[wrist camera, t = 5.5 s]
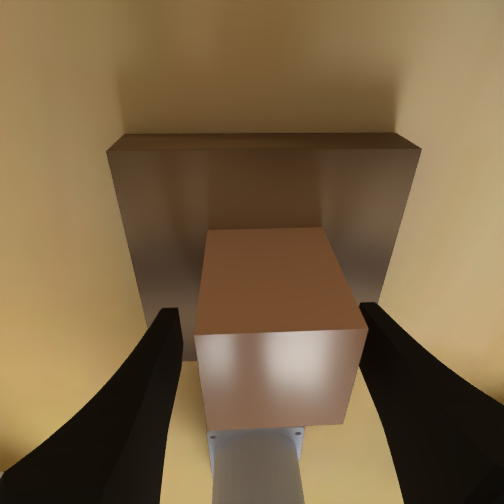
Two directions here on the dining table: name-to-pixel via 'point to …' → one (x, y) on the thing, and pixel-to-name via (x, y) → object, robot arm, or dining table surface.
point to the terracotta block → (275, 330)
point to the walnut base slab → (256, 203)
